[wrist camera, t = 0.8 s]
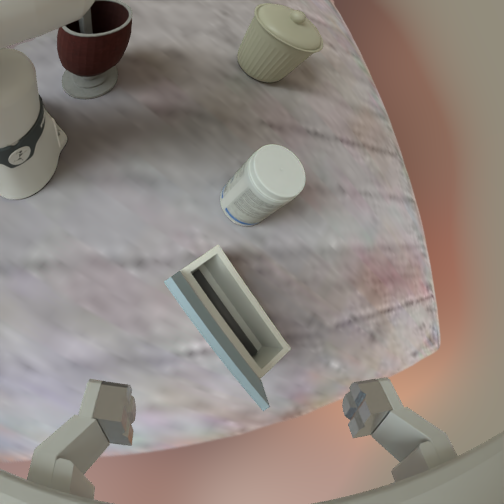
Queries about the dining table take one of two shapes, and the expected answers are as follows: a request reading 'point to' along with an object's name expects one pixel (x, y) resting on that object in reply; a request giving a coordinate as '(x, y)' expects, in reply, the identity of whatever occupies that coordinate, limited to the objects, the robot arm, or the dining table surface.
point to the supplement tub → (262, 185)
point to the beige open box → (236, 310)
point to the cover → (217, 338)
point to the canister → (277, 42)
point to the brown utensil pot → (94, 48)
